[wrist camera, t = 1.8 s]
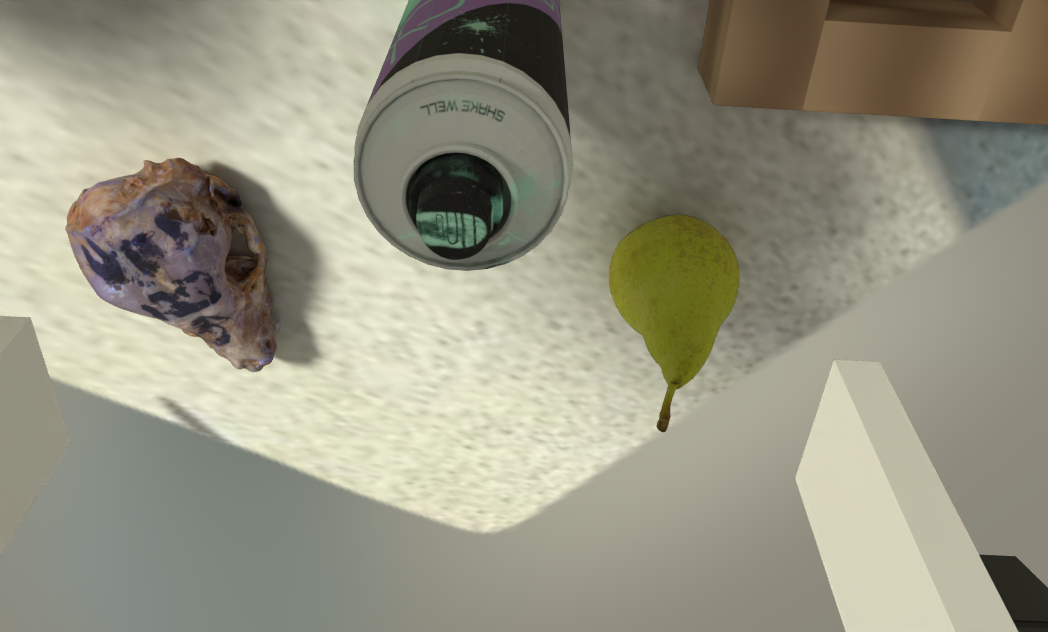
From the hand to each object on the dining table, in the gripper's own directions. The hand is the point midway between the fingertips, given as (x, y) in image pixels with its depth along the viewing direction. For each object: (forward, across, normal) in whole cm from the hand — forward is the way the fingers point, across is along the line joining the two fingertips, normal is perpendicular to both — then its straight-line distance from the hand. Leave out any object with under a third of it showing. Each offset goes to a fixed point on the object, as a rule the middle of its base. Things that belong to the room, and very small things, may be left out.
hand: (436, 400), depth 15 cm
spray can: (+26, 0, 0) cm, 26 cm away
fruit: (+26, +9, -11) cm, 30 cm away
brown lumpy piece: (+26, -14, -14) cm, 33 cm away
